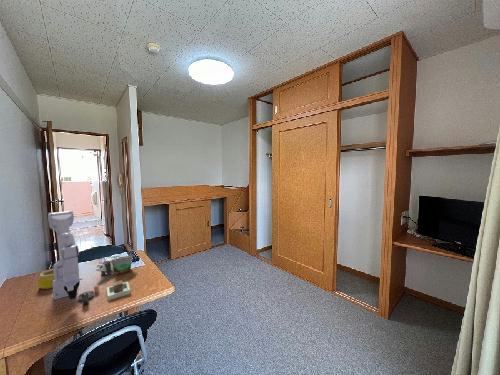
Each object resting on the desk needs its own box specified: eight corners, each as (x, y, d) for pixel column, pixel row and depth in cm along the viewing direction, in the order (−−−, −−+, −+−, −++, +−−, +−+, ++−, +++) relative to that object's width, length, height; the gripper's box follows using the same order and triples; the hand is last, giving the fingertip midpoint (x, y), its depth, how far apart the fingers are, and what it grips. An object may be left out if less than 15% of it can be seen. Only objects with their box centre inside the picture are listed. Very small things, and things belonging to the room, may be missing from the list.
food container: (116, 278, 131) (114, 262, 130) (111, 275, 135) (110, 259, 134) (136, 270, 141) (135, 255, 140) (132, 267, 145) (131, 253, 144)
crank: (78, 296, 112) (78, 287, 112) (93, 292, 116) (93, 283, 115) (77, 307, 103) (76, 297, 102) (93, 302, 107) (93, 293, 106)
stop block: (114, 294, 113) (113, 285, 112) (113, 291, 116) (113, 282, 116) (123, 292, 115) (122, 283, 115) (122, 288, 118) (121, 280, 118)
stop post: (94, 294, 115) (93, 287, 114) (94, 292, 116) (94, 286, 116) (99, 292, 116) (98, 286, 115) (99, 291, 117) (98, 284, 117)
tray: (108, 300, 109) (107, 296, 108) (107, 291, 117) (106, 287, 116) (130, 293, 114) (130, 289, 114) (128, 285, 122) (127, 281, 122)
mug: (35, 287, 121) (33, 267, 120) (59, 278, 131) (57, 259, 130) (45, 293, 115) (43, 272, 114) (70, 283, 125) (68, 263, 124)
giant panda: (111, 268, 143) (110, 255, 142) (119, 269, 143) (118, 255, 142) (93, 280, 129) (91, 265, 128) (101, 280, 128) (100, 265, 127)
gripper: (80, 274, 98) (83, 302, 99) (82, 263, 110) (84, 288, 111) (60, 279, 94) (63, 308, 95) (64, 267, 106) (66, 293, 107)
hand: (73, 298), depth 103 cm, fingers closed
